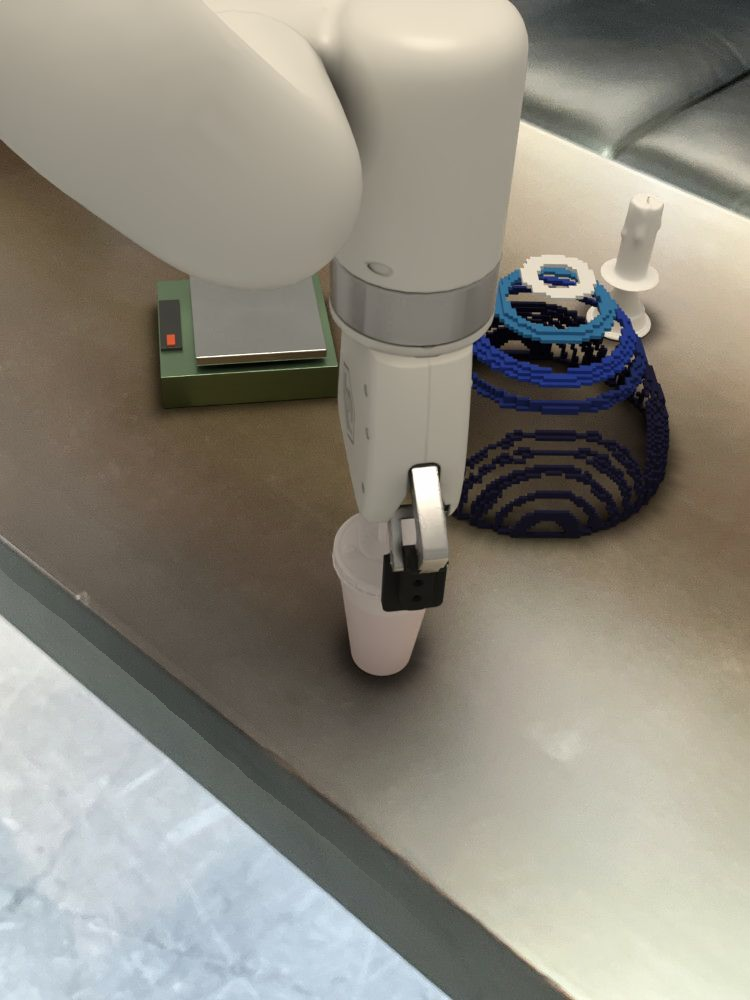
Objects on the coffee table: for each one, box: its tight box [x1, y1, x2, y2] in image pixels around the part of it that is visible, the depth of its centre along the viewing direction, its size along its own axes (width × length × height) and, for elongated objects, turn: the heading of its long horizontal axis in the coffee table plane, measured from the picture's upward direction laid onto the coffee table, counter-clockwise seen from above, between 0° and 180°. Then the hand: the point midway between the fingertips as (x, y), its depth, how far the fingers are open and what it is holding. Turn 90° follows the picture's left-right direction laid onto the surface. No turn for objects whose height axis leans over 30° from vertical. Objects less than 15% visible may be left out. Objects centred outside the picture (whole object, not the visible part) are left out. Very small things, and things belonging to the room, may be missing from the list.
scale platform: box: [188, 274, 327, 366], centre depth 88 cm, size 10×11×1 cm
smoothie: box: [331, 512, 427, 677], centre depth 66 cm, size 6×6×14 cm
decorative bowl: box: [451, 254, 671, 538], centre depth 80 cm, size 20×20×14 cm
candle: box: [585, 192, 665, 341], centre depth 91 cm, size 5×5×12 cm
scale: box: [156, 272, 339, 409], centre depth 89 cm, size 13×12×3 cm
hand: (395, 536), depth 63 cm, fingers open, 9 cm apart
